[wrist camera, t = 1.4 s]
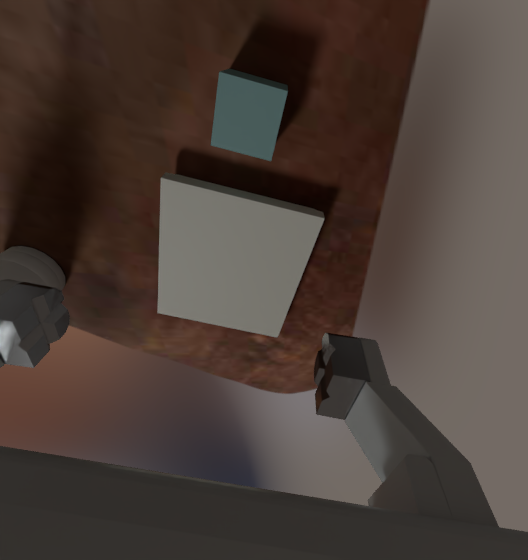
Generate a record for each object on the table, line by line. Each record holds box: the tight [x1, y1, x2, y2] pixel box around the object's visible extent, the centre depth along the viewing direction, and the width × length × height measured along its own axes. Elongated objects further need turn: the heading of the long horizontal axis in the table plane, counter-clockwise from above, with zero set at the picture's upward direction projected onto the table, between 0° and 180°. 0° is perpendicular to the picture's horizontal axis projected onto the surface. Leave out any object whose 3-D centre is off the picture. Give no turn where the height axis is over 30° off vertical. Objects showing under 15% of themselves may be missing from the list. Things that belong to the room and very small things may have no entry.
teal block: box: [211, 69, 288, 161], centre depth 25 cm, size 5×5×5 cm
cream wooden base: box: [158, 173, 325, 337], centre depth 35 cm, size 18×16×3 cm
